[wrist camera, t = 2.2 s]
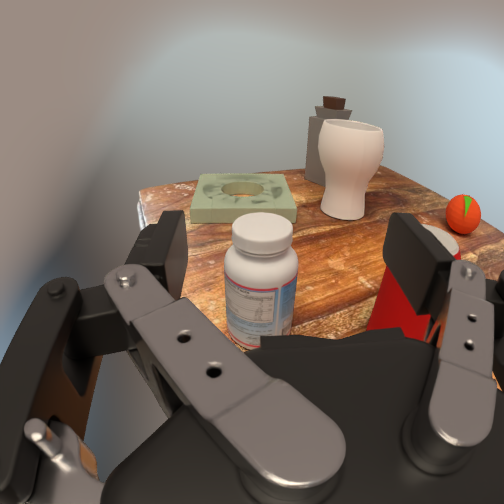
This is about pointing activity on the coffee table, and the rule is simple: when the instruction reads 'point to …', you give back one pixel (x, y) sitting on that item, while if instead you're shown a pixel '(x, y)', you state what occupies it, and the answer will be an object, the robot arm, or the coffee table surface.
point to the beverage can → (404, 298)
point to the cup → (348, 165)
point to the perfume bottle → (329, 110)
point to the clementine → (463, 214)
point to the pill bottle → (260, 278)
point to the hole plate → (232, 207)
